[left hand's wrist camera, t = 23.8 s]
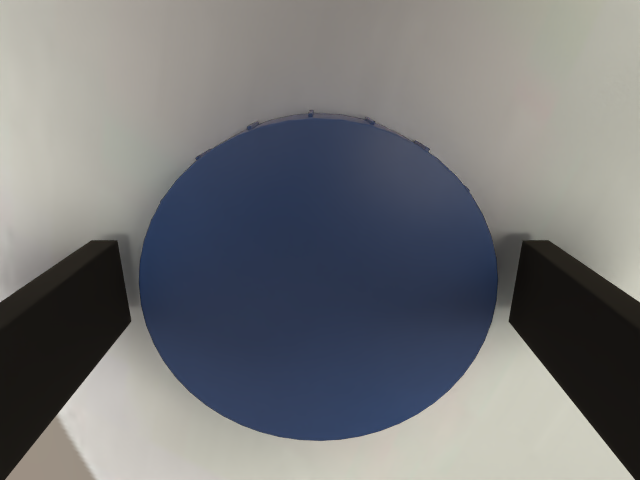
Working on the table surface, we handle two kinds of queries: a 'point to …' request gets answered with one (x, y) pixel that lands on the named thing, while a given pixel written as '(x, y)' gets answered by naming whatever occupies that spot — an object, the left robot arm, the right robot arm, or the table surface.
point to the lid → (318, 278)
